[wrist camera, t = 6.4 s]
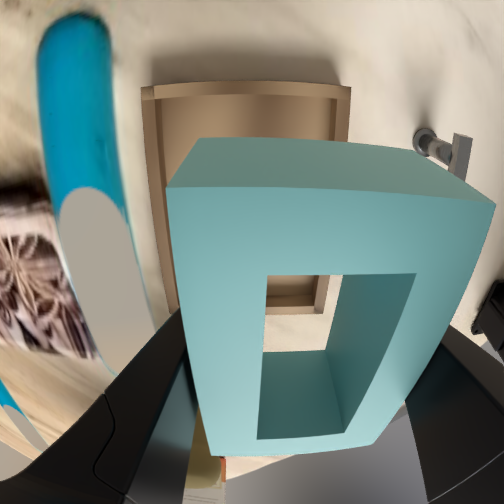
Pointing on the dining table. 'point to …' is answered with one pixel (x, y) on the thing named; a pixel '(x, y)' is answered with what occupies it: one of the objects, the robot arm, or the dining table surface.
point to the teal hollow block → (316, 263)
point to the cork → (201, 460)
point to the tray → (237, 125)
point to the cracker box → (208, 491)
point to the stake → (445, 150)
